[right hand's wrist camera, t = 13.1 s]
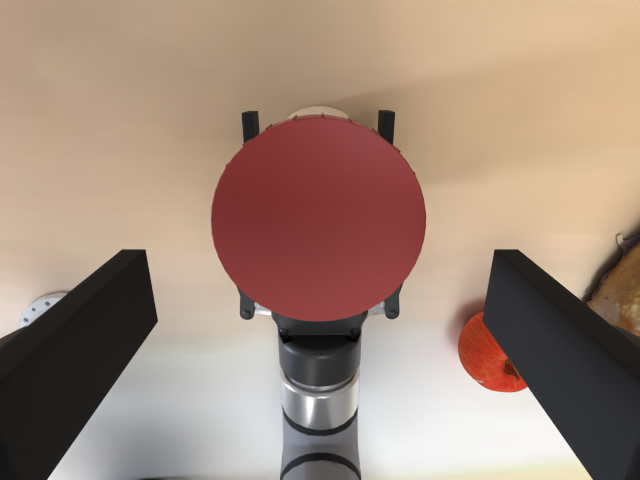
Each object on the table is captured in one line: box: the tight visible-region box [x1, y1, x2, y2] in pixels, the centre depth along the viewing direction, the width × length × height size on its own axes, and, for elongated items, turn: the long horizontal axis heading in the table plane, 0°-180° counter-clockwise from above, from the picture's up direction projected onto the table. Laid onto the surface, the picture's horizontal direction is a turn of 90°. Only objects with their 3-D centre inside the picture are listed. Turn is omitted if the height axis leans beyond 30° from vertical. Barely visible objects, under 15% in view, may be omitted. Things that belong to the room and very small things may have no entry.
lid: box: [211, 113, 426, 321], centre depth 19 cm, size 10×10×2 cm
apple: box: [458, 311, 528, 392], centre depth 39 cm, size 8×8×8 cm
